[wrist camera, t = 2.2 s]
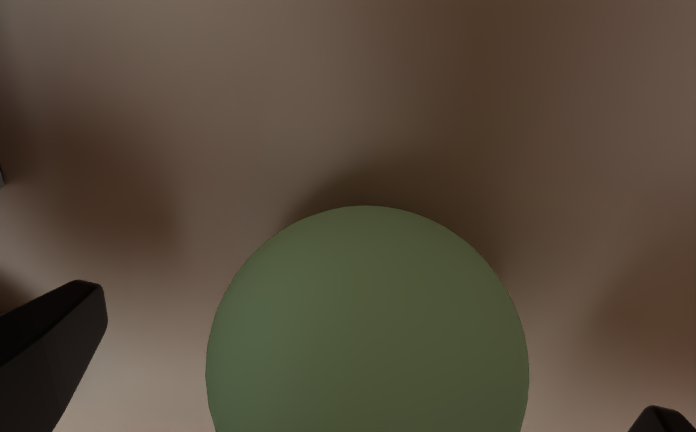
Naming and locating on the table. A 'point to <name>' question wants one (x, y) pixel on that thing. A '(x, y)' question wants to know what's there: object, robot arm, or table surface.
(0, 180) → the bin
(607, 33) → the table surface
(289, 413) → the green ball
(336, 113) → the table surface
